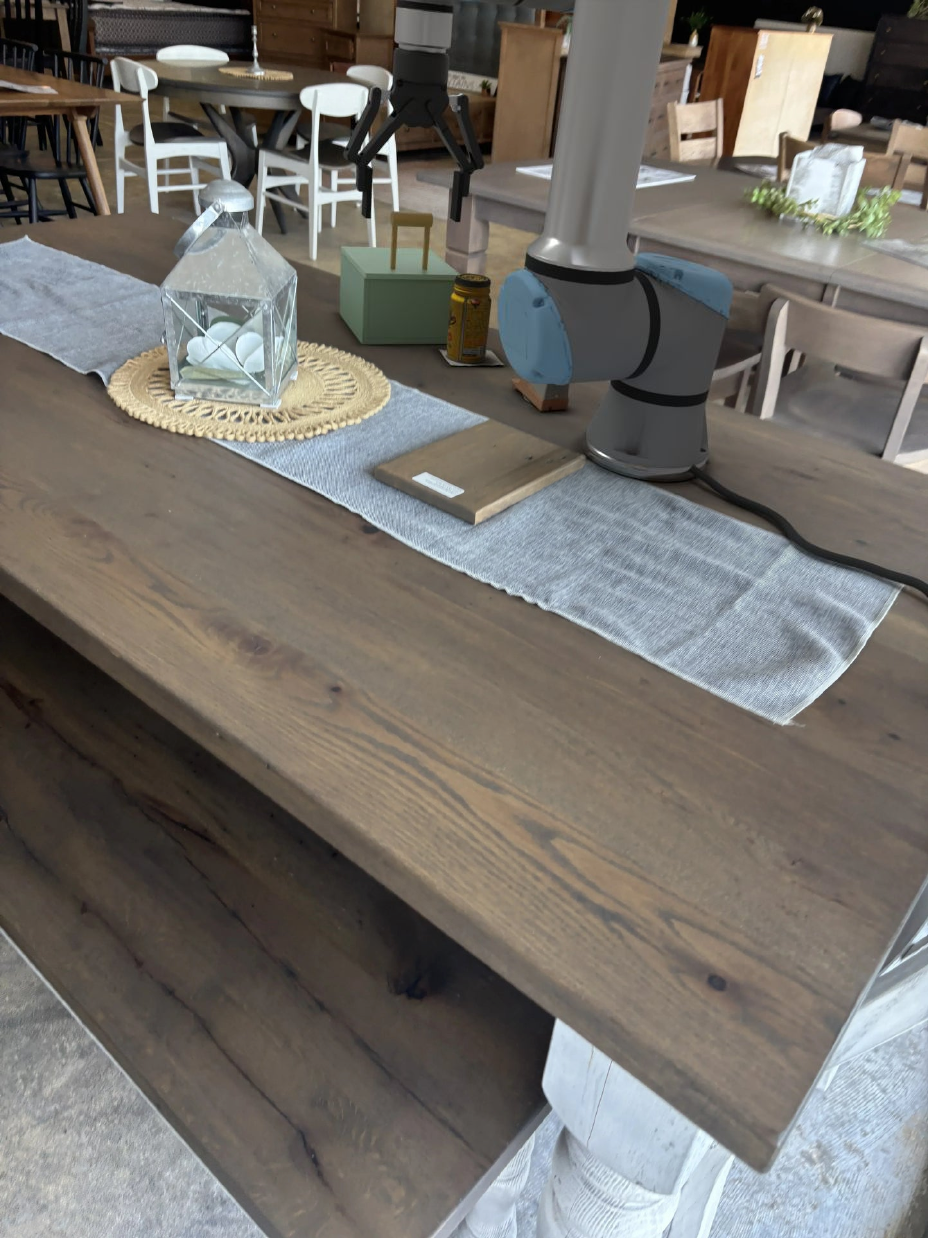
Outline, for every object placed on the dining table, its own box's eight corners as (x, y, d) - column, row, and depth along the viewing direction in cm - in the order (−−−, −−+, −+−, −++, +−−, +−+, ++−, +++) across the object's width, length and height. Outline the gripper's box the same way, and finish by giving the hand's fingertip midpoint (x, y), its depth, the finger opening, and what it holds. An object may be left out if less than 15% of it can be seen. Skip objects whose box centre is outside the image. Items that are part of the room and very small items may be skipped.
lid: (460, 280, 138) (466, 218, 133) (365, 278, 133) (367, 214, 128) (428, 253, 150) (432, 196, 145) (340, 251, 146) (342, 191, 141)
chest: (453, 343, 144) (458, 279, 138) (361, 344, 139) (364, 277, 134) (424, 314, 156) (428, 254, 150) (339, 314, 151) (340, 251, 146)
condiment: (438, 350, 140) (445, 269, 134) (490, 351, 142) (499, 271, 136) (450, 366, 134) (457, 283, 128) (504, 367, 137) (514, 284, 130)
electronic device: (535, 385, 131) (543, 333, 127) (569, 410, 124) (578, 356, 120) (508, 387, 129) (515, 335, 125) (541, 413, 122) (549, 358, 118)
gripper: (498, 55, 128) (482, 216, 140) (324, 37, 120) (322, 209, 132) (518, 59, 123) (499, 227, 134) (336, 41, 115) (332, 220, 126)
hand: (411, 218), depth 133 cm, fingers open, 13 cm apart
